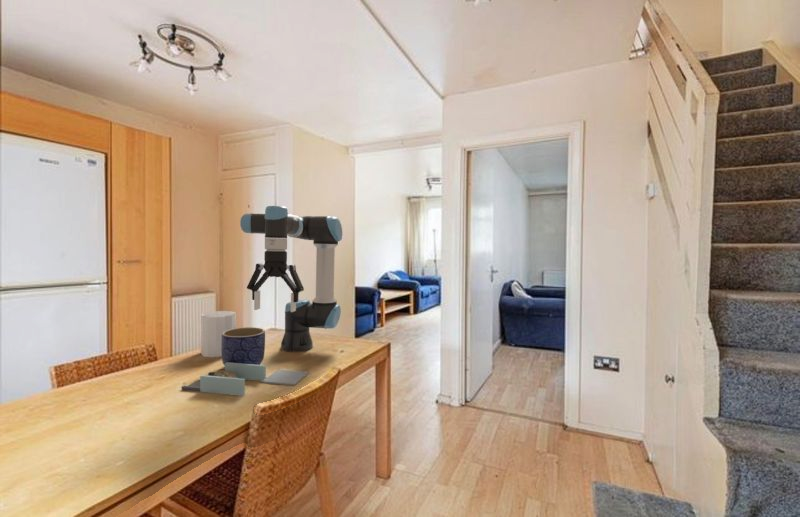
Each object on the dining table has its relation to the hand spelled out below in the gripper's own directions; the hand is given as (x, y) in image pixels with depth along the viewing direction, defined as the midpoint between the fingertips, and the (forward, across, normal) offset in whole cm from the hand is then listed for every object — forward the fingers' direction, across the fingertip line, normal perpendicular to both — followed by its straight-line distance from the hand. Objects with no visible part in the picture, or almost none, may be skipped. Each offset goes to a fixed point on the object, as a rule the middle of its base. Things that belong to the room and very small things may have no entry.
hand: (275, 310), depth 131 cm
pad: (+28, 0, +10) cm, 30 cm away
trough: (+28, -18, -1) cm, 33 cm away
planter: (+28, -22, +17) cm, 40 cm away
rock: (+28, -18, -1) cm, 33 cm away
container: (+28, -44, +33) cm, 62 cm away
